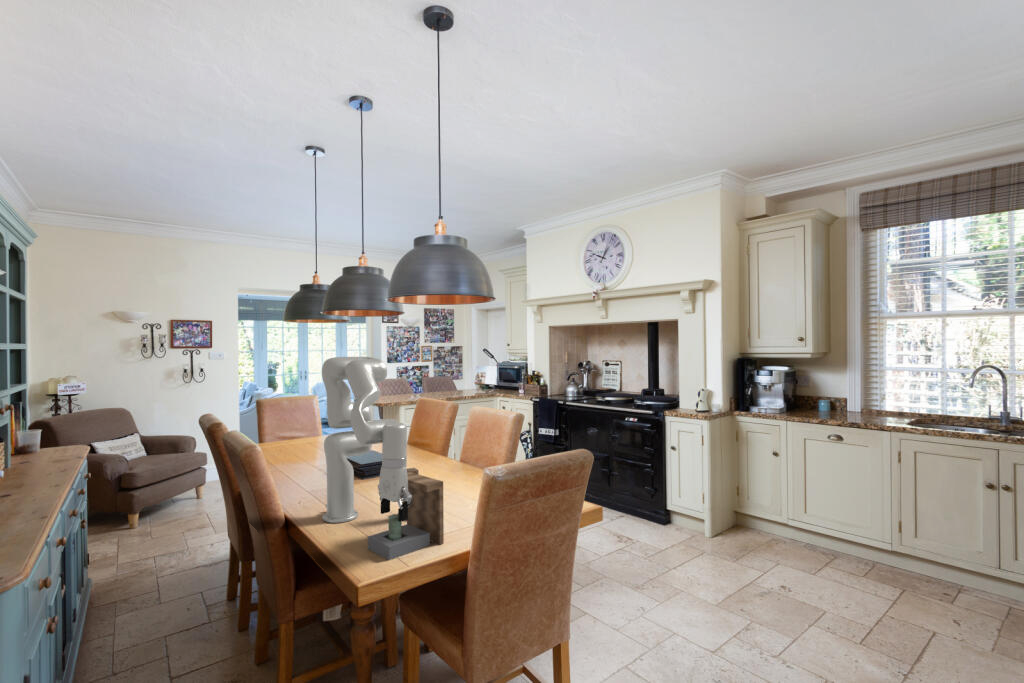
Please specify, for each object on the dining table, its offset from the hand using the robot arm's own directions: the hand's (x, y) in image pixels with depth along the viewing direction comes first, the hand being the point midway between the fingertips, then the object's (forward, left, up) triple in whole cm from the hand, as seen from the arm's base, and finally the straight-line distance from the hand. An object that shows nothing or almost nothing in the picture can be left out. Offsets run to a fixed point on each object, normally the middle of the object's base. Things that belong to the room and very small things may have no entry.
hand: (394, 516), depth 160 cm
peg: (+1, 0, -10) cm, 10 cm away
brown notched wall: (0, +10, -10) cm, 14 cm away
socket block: (+1, +2, -10) cm, 10 cm away
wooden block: (-21, +21, -10) cm, 32 cm away
